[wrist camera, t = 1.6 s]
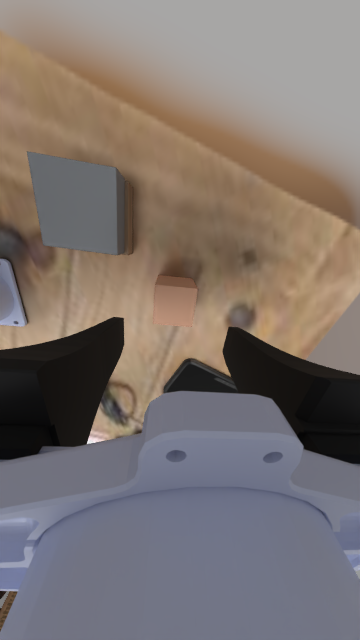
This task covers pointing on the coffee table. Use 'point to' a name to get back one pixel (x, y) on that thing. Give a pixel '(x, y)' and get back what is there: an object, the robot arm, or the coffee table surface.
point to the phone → (199, 379)
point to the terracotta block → (174, 301)
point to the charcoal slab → (78, 204)
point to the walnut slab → (128, 219)
